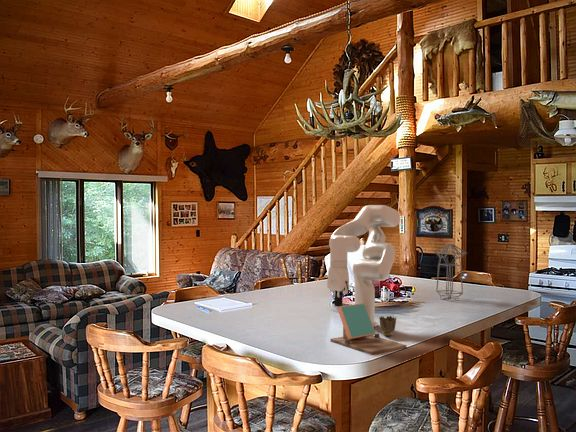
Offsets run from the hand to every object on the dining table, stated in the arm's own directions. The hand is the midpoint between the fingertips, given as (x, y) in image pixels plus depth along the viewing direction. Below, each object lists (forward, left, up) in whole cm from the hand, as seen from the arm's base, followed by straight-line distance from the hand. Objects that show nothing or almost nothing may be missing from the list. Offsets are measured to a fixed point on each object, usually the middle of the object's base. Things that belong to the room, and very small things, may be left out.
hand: (338, 305), depth 230 cm
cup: (+12, +18, -13) cm, 26 cm away
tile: (+11, 0, -5) cm, 12 cm away
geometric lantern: (-32, +119, -13) cm, 124 cm away
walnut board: (+18, 0, -13) cm, 23 cm away
